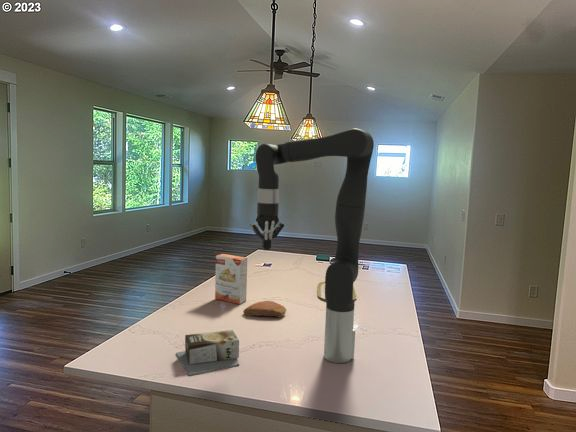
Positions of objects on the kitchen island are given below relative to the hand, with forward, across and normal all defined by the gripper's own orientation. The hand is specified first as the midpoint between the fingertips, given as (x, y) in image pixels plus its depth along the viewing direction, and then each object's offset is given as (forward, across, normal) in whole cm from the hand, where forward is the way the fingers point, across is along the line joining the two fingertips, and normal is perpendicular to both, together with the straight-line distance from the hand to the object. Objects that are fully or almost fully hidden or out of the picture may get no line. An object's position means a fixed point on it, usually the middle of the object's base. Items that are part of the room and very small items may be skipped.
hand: (266, 249), depth 150 cm
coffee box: (+29, -14, -8) cm, 33 cm away
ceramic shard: (+34, +12, +22) cm, 42 cm away
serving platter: (+34, +58, +37) cm, 77 cm away
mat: (+33, -24, -8) cm, 42 cm away
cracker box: (+33, +4, +45) cm, 56 cm away
